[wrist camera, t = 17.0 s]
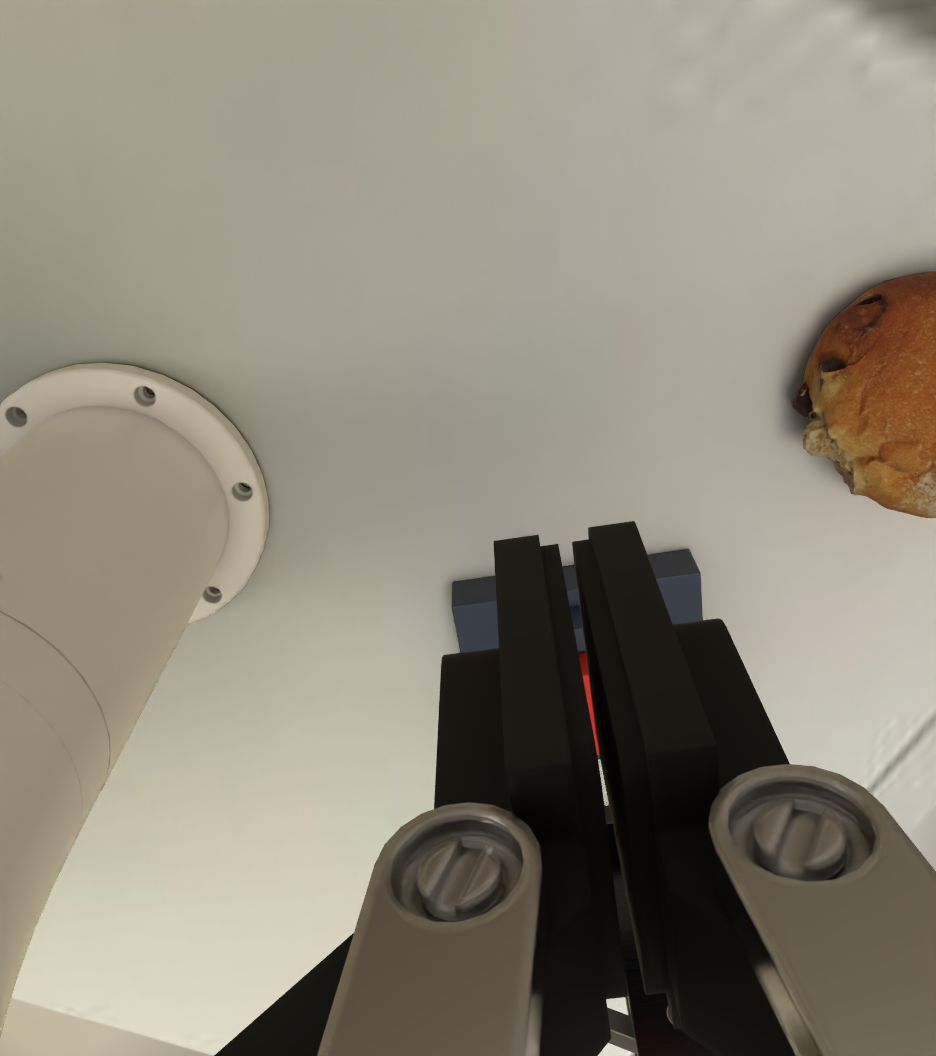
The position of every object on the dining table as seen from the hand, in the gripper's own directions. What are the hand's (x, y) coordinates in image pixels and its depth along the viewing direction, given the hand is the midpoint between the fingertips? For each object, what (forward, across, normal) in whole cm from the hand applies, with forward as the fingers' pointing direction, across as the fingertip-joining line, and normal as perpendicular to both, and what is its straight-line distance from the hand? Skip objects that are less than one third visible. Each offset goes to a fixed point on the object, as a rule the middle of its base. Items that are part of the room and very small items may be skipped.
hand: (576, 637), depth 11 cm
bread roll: (+27, -16, +8) cm, 33 cm away
